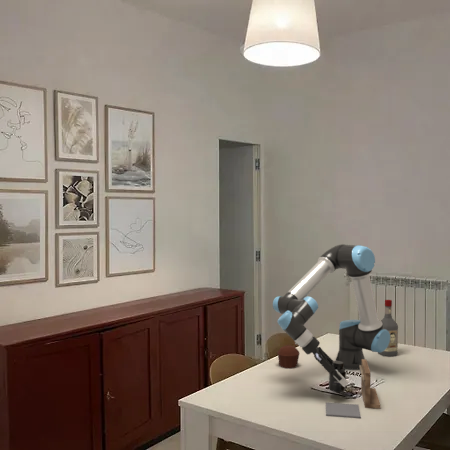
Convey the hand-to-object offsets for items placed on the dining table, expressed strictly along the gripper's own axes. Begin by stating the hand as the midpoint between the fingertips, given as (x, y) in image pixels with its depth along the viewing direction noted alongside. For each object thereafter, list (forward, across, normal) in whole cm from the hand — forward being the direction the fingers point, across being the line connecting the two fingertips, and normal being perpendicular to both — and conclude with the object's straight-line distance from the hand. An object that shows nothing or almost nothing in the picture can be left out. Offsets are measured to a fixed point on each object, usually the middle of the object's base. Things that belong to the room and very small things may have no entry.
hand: (345, 381), depth 226 cm
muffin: (-14, -41, -24) cm, 50 cm away
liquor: (+24, -73, +14) cm, 78 cm away
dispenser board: (+12, 0, +2) cm, 12 cm away
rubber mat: (+3, +15, -6) cm, 17 cm away
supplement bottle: (0, 0, -5) cm, 5 cm away
